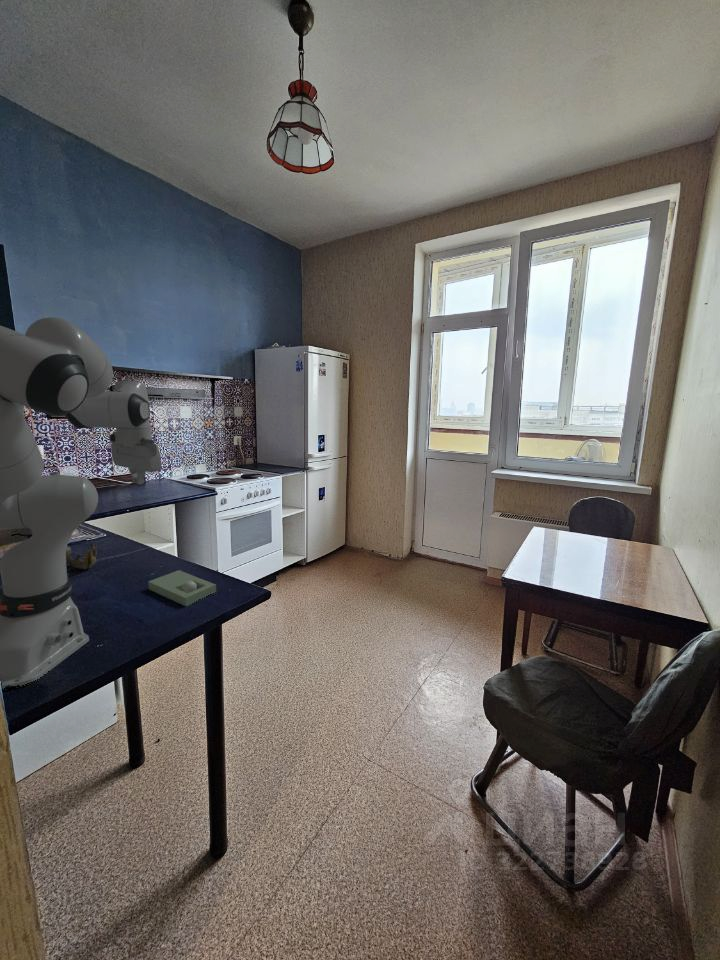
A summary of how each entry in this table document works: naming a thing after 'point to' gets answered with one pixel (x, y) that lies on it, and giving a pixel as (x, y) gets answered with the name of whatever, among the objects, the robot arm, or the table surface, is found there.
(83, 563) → the jawbone
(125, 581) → the table surface
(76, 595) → the table surface
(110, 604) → the table surface
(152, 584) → the putting board
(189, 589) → the ball
